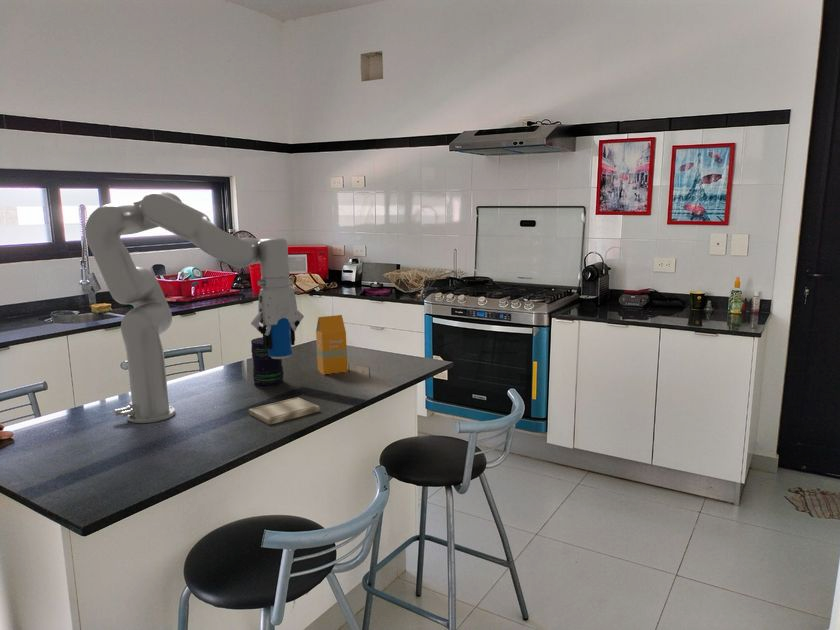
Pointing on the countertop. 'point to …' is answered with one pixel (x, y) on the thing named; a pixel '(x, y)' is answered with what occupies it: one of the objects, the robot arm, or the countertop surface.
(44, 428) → the countertop surface
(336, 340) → the orange juice
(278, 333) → the beverage can
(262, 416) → the bamboo board
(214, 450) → the countertop surface
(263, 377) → the storage jar
